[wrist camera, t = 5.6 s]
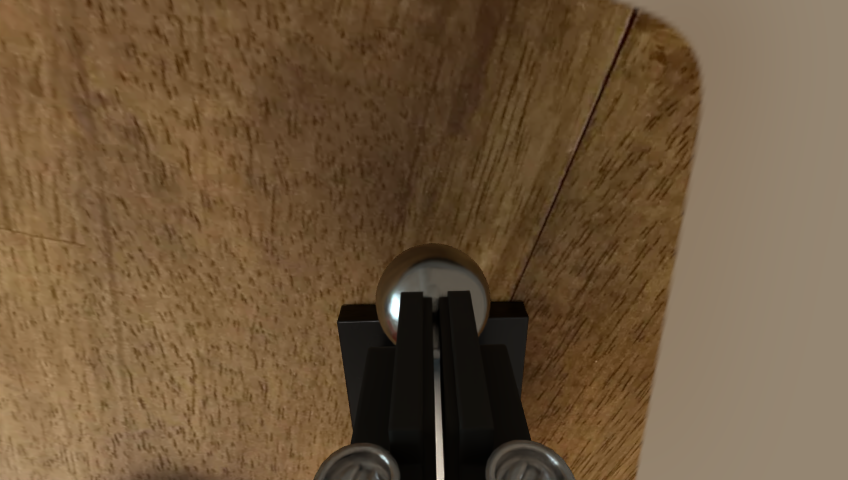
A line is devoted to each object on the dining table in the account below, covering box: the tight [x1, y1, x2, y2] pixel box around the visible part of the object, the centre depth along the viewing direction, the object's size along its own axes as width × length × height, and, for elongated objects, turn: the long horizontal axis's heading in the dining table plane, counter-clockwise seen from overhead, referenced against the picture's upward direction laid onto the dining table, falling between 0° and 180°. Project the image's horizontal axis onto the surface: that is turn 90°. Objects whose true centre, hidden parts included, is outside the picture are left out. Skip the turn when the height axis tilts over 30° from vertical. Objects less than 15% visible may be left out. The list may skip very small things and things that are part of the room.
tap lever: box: [375, 243, 491, 480], centre depth 12 cm, size 13×3×3 cm, turn 2°
